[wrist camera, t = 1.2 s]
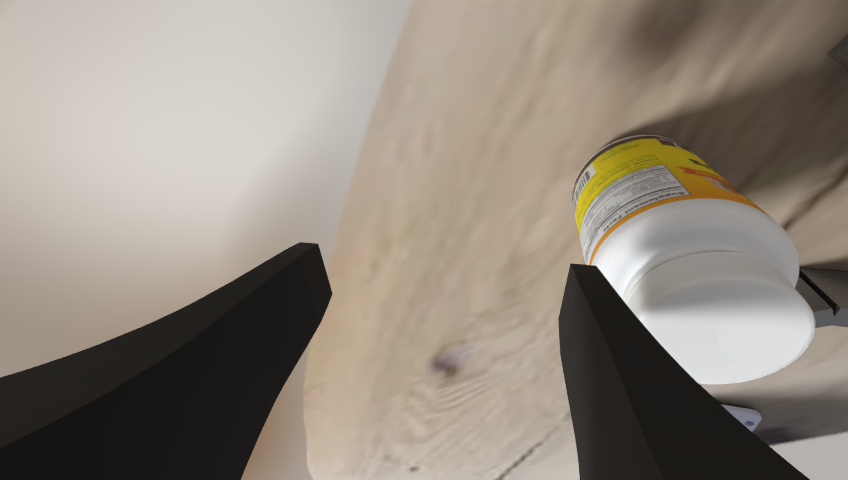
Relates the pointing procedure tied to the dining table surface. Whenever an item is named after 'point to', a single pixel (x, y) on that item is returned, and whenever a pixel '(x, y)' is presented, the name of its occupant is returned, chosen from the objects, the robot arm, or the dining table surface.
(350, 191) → the dining table surface
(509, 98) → the dining table surface
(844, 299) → the stop cradle
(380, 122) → the dining table surface
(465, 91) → the dining table surface
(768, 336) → the supplement bottle
